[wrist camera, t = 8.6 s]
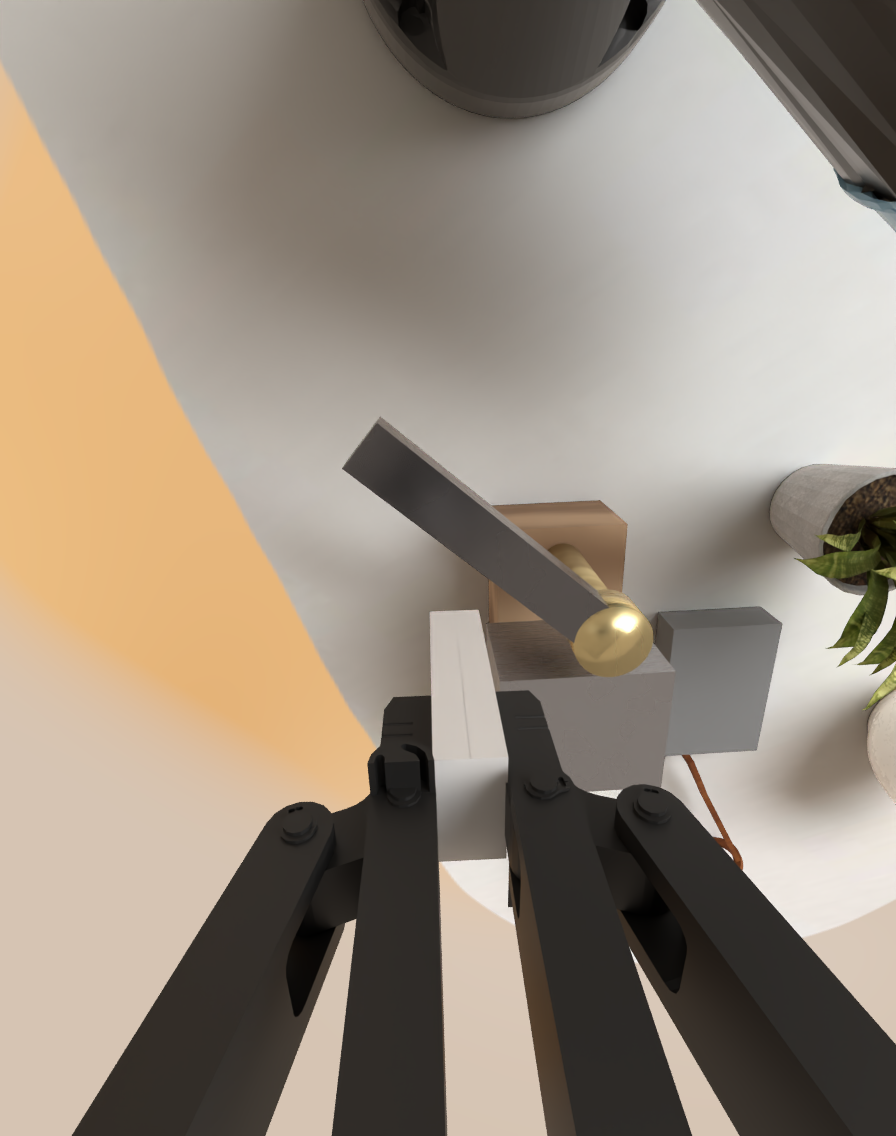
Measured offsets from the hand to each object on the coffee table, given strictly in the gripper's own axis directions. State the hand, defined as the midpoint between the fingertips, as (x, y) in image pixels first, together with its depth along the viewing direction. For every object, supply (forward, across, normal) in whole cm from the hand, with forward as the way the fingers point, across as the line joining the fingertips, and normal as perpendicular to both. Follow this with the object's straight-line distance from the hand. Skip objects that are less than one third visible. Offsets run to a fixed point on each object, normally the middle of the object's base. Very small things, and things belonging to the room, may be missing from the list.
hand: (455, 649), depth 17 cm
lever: (+6, +2, +1) cm, 6 cm away
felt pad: (+18, +18, -13) cm, 29 cm away
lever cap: (+13, +7, -10) cm, 18 cm away
